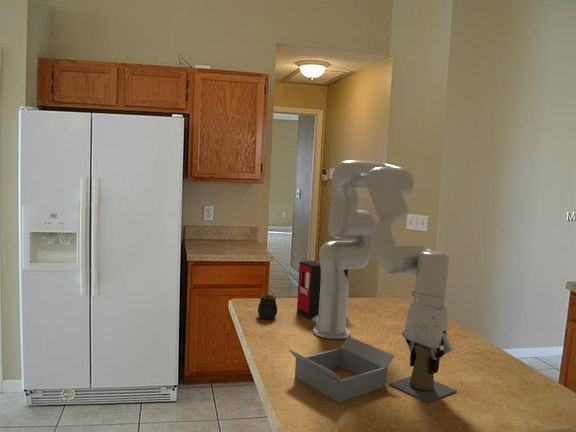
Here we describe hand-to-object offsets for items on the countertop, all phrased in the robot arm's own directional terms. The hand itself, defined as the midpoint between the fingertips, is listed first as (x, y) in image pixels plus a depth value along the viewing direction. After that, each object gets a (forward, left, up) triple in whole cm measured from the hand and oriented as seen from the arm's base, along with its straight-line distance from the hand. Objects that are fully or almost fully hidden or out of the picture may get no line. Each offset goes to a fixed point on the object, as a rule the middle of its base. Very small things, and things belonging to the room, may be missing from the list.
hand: (423, 368), depth 125 cm
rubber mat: (0, 0, -5) cm, 5 cm away
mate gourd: (-69, 0, -6) cm, 69 cm away
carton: (-14, -16, -5) cm, 22 cm away
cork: (0, 0, -5) cm, 5 cm away
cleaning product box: (-64, +22, -6) cm, 68 cm away
